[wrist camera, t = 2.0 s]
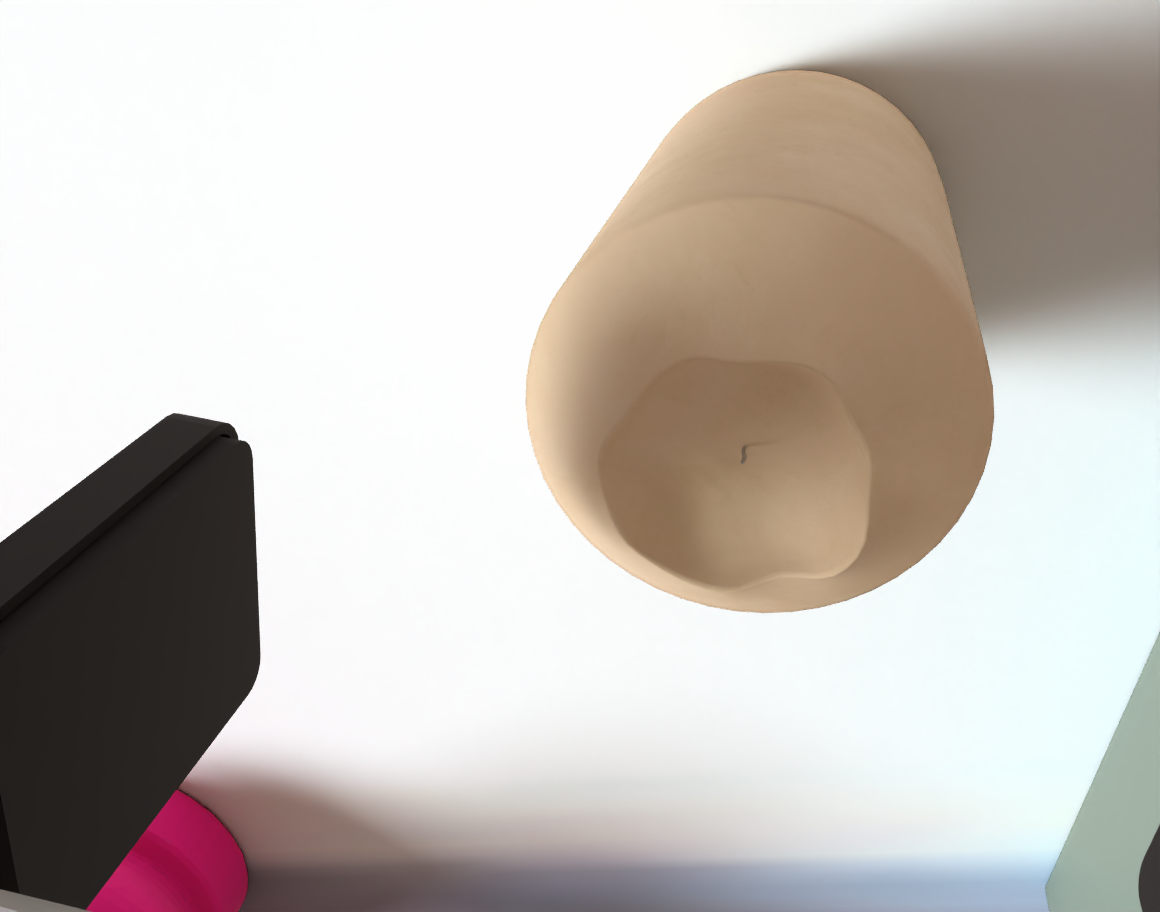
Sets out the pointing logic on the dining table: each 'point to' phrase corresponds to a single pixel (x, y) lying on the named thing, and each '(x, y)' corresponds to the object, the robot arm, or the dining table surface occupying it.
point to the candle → (768, 356)
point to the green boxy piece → (1116, 812)
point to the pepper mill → (178, 866)
